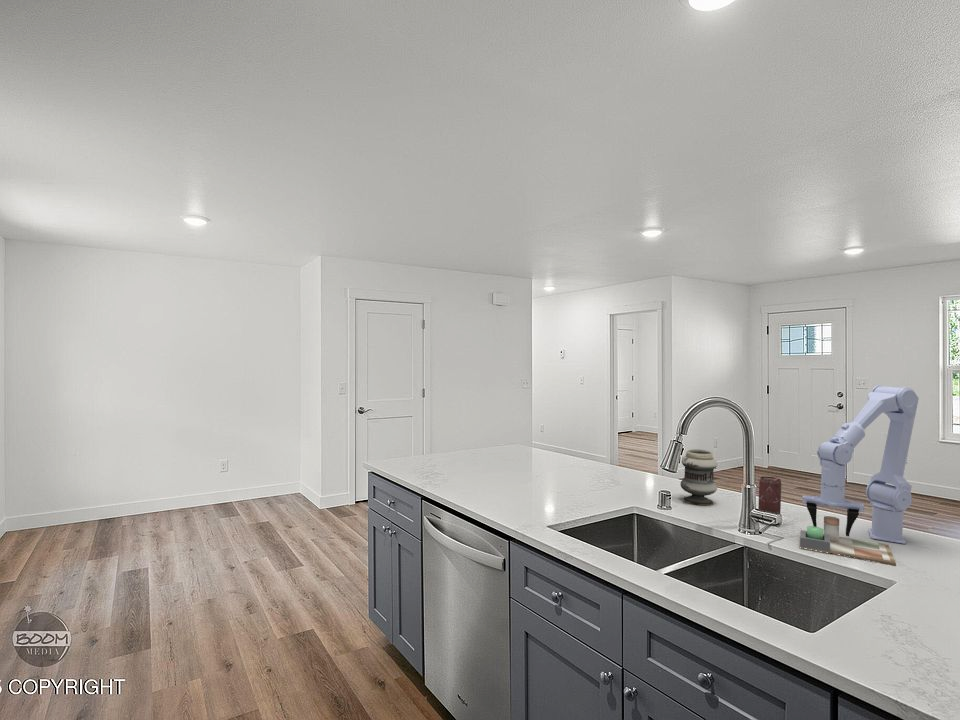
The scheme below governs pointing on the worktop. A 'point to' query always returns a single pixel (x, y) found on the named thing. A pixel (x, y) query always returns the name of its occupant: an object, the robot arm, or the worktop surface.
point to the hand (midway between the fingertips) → (831, 532)
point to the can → (770, 494)
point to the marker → (831, 527)
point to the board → (861, 550)
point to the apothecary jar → (699, 476)
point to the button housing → (815, 542)
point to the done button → (815, 532)
